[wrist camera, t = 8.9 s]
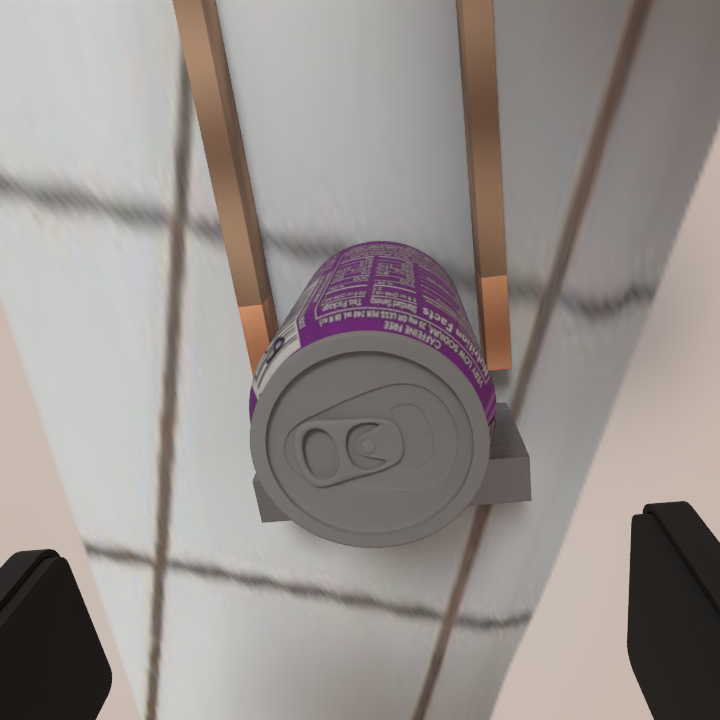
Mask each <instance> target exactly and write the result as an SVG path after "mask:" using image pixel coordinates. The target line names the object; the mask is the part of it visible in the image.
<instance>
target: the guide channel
mask: <svg viewBox="0 0 720 720" xmlns="http://www.w3.org/2000/svg"><path fill="white" fill-rule="evenodd" d="M173 5H174V9H175V14H176V19H177V23H178V28H179V33H180V37H181V42H182V47H183V51H184V56H185V61H186V65H187V70H188V75H189V79H190V84H191V89H192V93H193V98H194V103H195V107H196V112H197V117H198V121H199V126H200V131H201V135H202V140H203V145H204V149H205V154H206V159H207V163H208V168H209V173H210V177H211V182H212V187H213V191H214V196H215V201H216V205H217V210H218V215H219V219H220V224H221V228H222V233H223V238H224V242H225V247H226V252H227V256H228V261H229V266H230V270H231V275H232V280H233V284H234V289H235V294H236V298H237V303H238V308H239V312H240V317H241V322H242V326H243V331H244V336H245V340H246V345H247V350H248V354H249V359H250V364H251V368H252V373H253V378H254V375H255V372H256V370H257V367H258V365H259V362H260V360H261V358H262V356H263V354H264V353H265V351H266V349H267V348H268V346H269V345H270V343H271V342H272V340H273V338H274V337H275V335H276V334H277V332H278V331H279V329H278V324H277V319H276V314H275V308H274V303H273V298H272V293H271V288H270V283H269V277H268V272H267V267H266V262H265V257H264V251H263V246H262V241H261V236H260V231H259V226H258V220H257V215H256V210H255V205H254V200H253V194H252V189H251V184H250V179H249V174H248V169H247V163H246V158H245V153H244V148H243V143H242V137H241V132H240V127H239V122H238V117H237V112H236V106H235V101H234V96H233V91H232V86H231V80H230V75H229V70H228V65H227V60H226V54H225V49H224V44H223V39H222V34H221V29H220V23H219V18H218V13H217V8H216V3H215V0H173ZM456 7H457V21H458V35H459V49H460V63H461V77H462V92H463V106H464V120H465V134H466V148H467V162H468V176H469V190H470V204H471V218H472V232H473V246H474V260H475V274H476V288H477V302H478V316H479V330H480V344H481V352H482V355H483V357H484V360H485V362H486V365H487V367H488V370H489V371H493V370H502V369H512V363H511V344H510V325H509V306H508V287H507V268H506V249H505V230H504V211H503V192H502V174H501V155H500V136H499V117H498V98H497V79H496V60H495V41H494V22H493V3H492V0H456ZM496 406H497V419H496V428H495V433H494V438H493V441H492V445H491V447H490V453H489V461H488V466H487V469H486V473H485V476H484V478H483V481H482V483H481V485H480V487H479V489H478V491H477V493H476V494H475V496H474V498H473V499H472V500H471V502H470V503H469V504H468V506H472V505H485V504H497V503H509V502H521V501H531V483H530V460H529V455H528V452H527V450H526V448H525V445H524V443H523V440H522V438H521V436H520V433H519V431H518V429H517V426H516V424H515V422H514V419H513V417H512V415H511V412H510V410H509V408H508V405H507V403H500V404H496ZM253 485H254V489H255V494H256V498H257V502H258V507H259V511H260V515H261V520H262V523H263V522H276V521H288V520H291V519H290V518H289V517H287V516H286V515H285V514H284V513H283V512H282V511H281V510H280V509H279V508H278V507H277V506H276V505H275V503H274V502H273V501H272V500H271V498H270V497H269V496H268V494H267V493H266V491H265V489H264V488H263V486H262V484H261V482H260V480H259V478H258V475H257V473H256V475H255V477H254V479H253Z"/></svg>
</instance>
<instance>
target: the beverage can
mask: <svg viewBox="0 0 720 720" xmlns="http://www.w3.org/2000/svg"><path fill="white" fill-rule="evenodd" d="M249 412H250V423H251V429H250V449H251V455H252V460H253V464H254V467H255V470H256V473H257V475H258V478H259V480H260V482H261V484H262V486H263V488H264V489H265V491H266V493H267V494H268V496H269V497H270V498H271V500H272V501H273V502H274V503H275V505H276V506H277V507H278V508H279V509H280V510H281V511H282V512H283V513H284V514H285V515H286V516H287V517H289V518H290V519H291V520H292V521H294V522H295V523H296V524H298V525H299V526H301V527H302V528H304V529H306V530H307V531H309V532H311V533H313V534H315V535H317V536H319V537H322V538H324V539H327V540H329V541H333V542H336V543H340V544H344V545H349V546H354V547H365V548H382V547H392V546H398V545H403V544H407V543H410V542H414V541H417V540H419V539H422V538H424V537H427V536H429V535H431V534H433V533H435V532H436V531H438V530H440V529H441V528H443V527H445V526H446V525H447V524H449V523H450V522H451V521H453V520H454V519H455V518H456V517H457V516H458V515H459V514H460V513H461V512H462V511H463V510H464V509H465V508H466V507H467V506H468V504H469V503H470V502H471V500H472V499H473V498H474V496H475V494H476V493H477V491H478V489H479V487H480V485H481V483H482V481H483V478H484V476H485V473H486V469H487V466H488V461H489V453H490V447H491V445H492V441H493V438H494V433H495V428H496V419H497V406H496V396H495V390H494V386H493V382H492V378H491V376H490V373H489V370H488V367H487V365H486V362H485V360H484V357H483V355H482V352H481V350H480V347H479V345H478V342H477V340H476V337H475V335H474V332H473V330H472V327H471V325H470V322H469V320H468V317H467V315H466V312H465V310H464V307H463V305H462V302H461V300H460V297H459V295H458V292H457V290H456V288H455V285H454V284H453V282H452V280H451V279H450V277H449V276H448V274H447V273H446V272H445V270H444V269H443V268H442V267H441V266H440V265H439V264H438V263H437V262H436V261H435V260H433V259H432V258H431V257H429V256H428V255H426V254H425V253H423V252H421V251H419V250H417V249H415V248H413V247H410V246H407V245H404V244H400V243H396V242H388V241H374V242H366V243H361V244H357V245H354V246H351V247H349V248H346V249H344V250H342V251H340V252H339V253H337V254H335V255H334V256H333V257H331V258H330V259H329V260H327V261H326V262H325V263H324V264H323V265H322V266H321V267H320V268H319V269H318V270H317V272H316V273H315V274H314V276H313V277H312V279H311V280H310V282H309V283H308V285H307V286H306V288H305V290H304V291H303V293H302V294H301V296H300V297H299V299H298V301H297V302H296V304H295V305H294V307H293V308H292V310H291V312H290V313H289V315H288V316H287V318H286V319H285V321H284V323H283V324H282V326H281V327H280V329H279V331H278V332H277V334H276V335H275V337H274V338H273V340H272V342H271V343H270V345H269V346H268V348H267V349H266V351H265V353H264V354H263V356H262V358H261V360H260V362H259V365H258V367H257V370H256V372H255V375H254V379H253V382H252V386H251V391H250V400H249Z"/></svg>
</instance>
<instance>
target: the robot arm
mask: <svg viewBox="0 0 720 720" xmlns="http://www.w3.org/2000/svg"><path fill="white" fill-rule="evenodd" d="M627 633H628V634H627V648H628V655H629V660H630V663H631V666H632V669H633V672H634V674H635V676H636V678H637V681H638V683H639V686H640V688H641V690H642V693H643V695H644V697H645V700H646V702H647V704H648V707H649V709H650V711H651V714H652V716H653V718H654V720H720V542H719V541H718V540H717V539H716V537H715V536H714V535H713V533H712V532H711V531H710V530H709V528H708V527H707V526H706V524H705V523H704V522H703V520H702V519H701V518H700V517H699V515H698V514H697V513H696V511H695V510H694V509H693V507H692V506H691V505H690V504H689V503H688V502H685V501H680V502H667V503H655V504H647V505H645V507H644V509H643V514H639V515H634V516H633V518H632V524H631V552H630V578H629V606H628V632H627ZM111 684H112V672H111V668H110V665H109V663H108V661H107V658H106V656H105V653H104V650H103V648H102V646H101V643H100V640H99V638H98V635H97V633H96V631H95V628H94V626H93V623H92V620H91V618H90V615H89V613H88V611H87V608H86V606H85V603H84V601H83V598H82V596H81V593H80V590H79V588H78V586H77V583H76V580H75V578H74V576H73V573H72V570H71V568H70V566H69V563H68V562H67V560H66V559H65V558H63V557H60V556H59V554H58V553H57V552H56V551H55V550H51V549H45V550H31V551H20V552H18V553H15V554H14V555H12V556H11V557H10V558H9V559H8V560H7V561H6V562H5V563H4V565H3V566H2V567H1V568H0V720H96V718H97V716H98V714H99V712H100V710H101V708H102V706H103V704H104V702H105V700H106V698H107V696H108V694H109V691H110V688H111Z"/></svg>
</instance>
